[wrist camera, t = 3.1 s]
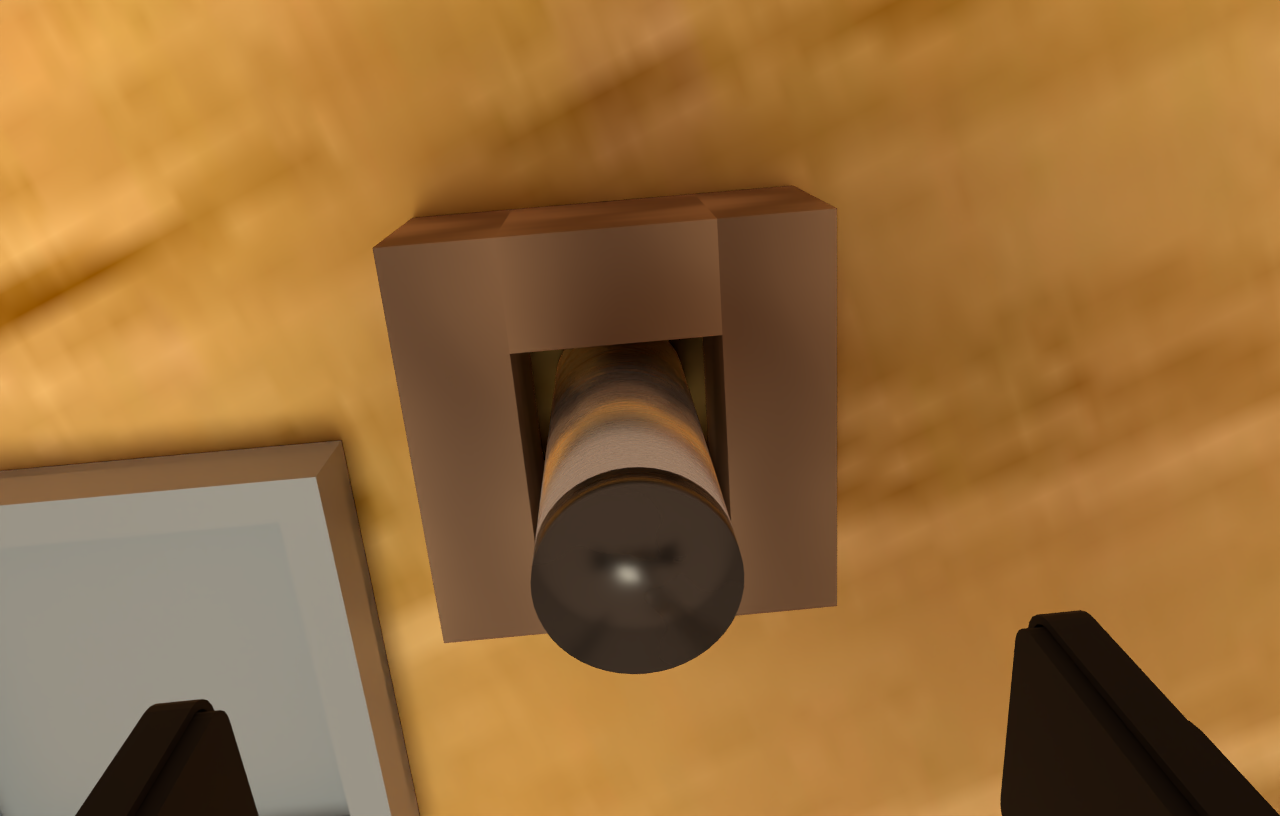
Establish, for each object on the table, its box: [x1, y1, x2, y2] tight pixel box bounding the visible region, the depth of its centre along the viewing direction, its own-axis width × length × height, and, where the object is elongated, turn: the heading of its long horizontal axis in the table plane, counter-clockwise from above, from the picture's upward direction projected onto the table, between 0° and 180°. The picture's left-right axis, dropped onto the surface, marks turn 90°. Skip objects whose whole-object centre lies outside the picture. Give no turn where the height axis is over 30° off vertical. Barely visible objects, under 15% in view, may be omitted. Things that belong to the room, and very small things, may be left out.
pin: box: [530, 340, 744, 674], centre depth 20 cm, size 4×4×11 cm
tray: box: [0, 440, 420, 816], centre depth 26 cm, size 14×14×2 cm
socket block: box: [373, 186, 837, 643], centre depth 23 cm, size 10×10×4 cm
